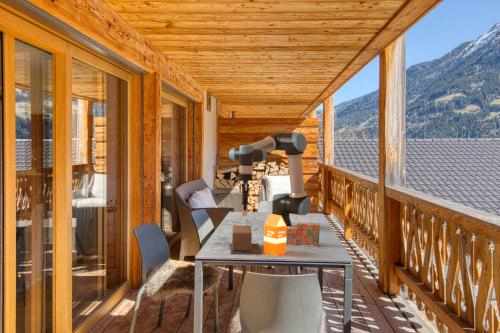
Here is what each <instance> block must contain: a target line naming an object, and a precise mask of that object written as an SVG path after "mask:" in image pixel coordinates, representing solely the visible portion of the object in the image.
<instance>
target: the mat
mask: <svg viewBox="0 0 500 333" xmlns="http://www.w3.org/2000/svg"><path fill="white" fill-rule="evenodd" d="M229 250H230V251H229V253H230V255H262V254H263V252H262V250H261V248H260V244H259V243H252V244H251V251H232V242H231V243H229Z"/></svg>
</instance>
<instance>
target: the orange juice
mask: <svg viewBox="0 0 500 333" xmlns="http://www.w3.org/2000/svg"><path fill="white" fill-rule="evenodd" d="M286 228H287V226H286V224H285V222H284V220H283V218H282V216H280V215H275V214H272V213H269V214H268V217H267V219H266V221H265V223H264V229H263V230H264V231H263V234H264V235H263V253H266V254H269V255H272V256H275V255H276V256H280V254H281V255H285V254H284V253H287V244H286Z"/></svg>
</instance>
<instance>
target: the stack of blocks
mask: <svg viewBox="0 0 500 333" xmlns="http://www.w3.org/2000/svg"><path fill="white" fill-rule="evenodd" d="M289 244H291V245H292V246H301V245H313V246H318V247H319V245H318V244H320V223H315V222H305V221H298V222H297V223H296V226H292V227H289V226H287V228H286V245H289ZM313 246H312V247H313Z"/></svg>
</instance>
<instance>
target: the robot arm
mask: <svg viewBox="0 0 500 333" xmlns="http://www.w3.org/2000/svg"><path fill="white" fill-rule="evenodd" d="M307 146H308V143H307V138H306V136H305V135H304V133H302V132H301V133H300V132H278V133H274V134H271V135H269V136H266V137H265V138H264V139H261V140H258V141H256V142H253V143H250V144H246V145H245V144H243V145H242V144H241V145H240V146H239V147H232V148H230V150H229V151H228V152H229V153H228V156H229V157H228V158H229V159H230V161H233V162H234V161H235V162H238V167H237V169H238V181H242V183H241V191H242V201H241V207H242V208H241V210H242V211H241V217H248V204H249V188H250V184H249V182H251V181H253V173H254V172H253V171H254V170H253V169H254V167H253V166H254V165H253V164H254V163H262V162H264V161H266V160H267V156H268V155H267V152H273V151H283V152H284V153H285V156H286V157H287V161H288V169H289V170H288V171H289V172H288V174H289V183H290V192H289V193H287V192H285V193H284V192H283V193H276V194H274V195H273V196H272V200H271V201H272V203H271V204H272V206H271V207H272V208H271V209H272V210H271V212H272V213H271V214H275V215H280V216H282V218H283V220H284V222H285V224H286V226H289V227H293V225H292V221H291V218H290V215H297V216H306V215H308V214H309V212H310V210H311V208H312V201H311V200H312V199H311V198H310V197H308V194H307V192H305V184H304V182H305V181H304V172H303V171H304V170H303V159H302V156H303V155H304V152H305V151H306V149H307Z"/></svg>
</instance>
